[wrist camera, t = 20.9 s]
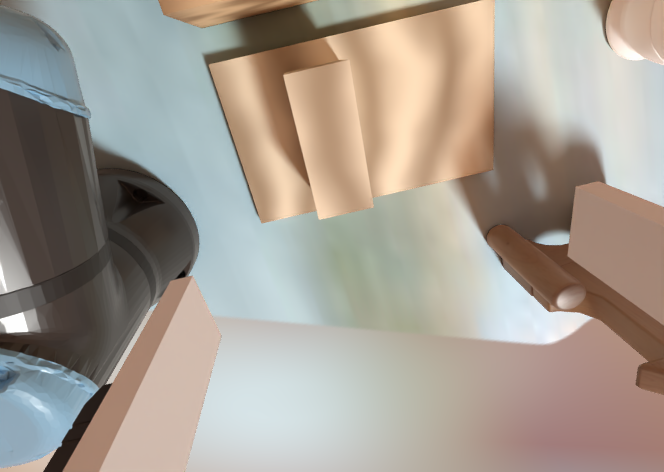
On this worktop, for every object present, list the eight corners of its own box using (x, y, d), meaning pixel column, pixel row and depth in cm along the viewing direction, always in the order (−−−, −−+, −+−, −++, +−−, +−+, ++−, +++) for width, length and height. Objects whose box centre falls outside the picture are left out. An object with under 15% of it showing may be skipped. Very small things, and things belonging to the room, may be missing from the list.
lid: (262, 217, 40) (255, 255, 32) (212, 64, 32) (186, 65, 25) (486, 166, 39) (531, 191, 32) (486, -1, 32) (545, -19, 25)
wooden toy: (610, 186, 41) (975, 332, 19) (608, 234, 44) (920, 407, 22) (483, 228, 42) (690, 413, 20) (489, 271, 45) (675, 474, 23)
